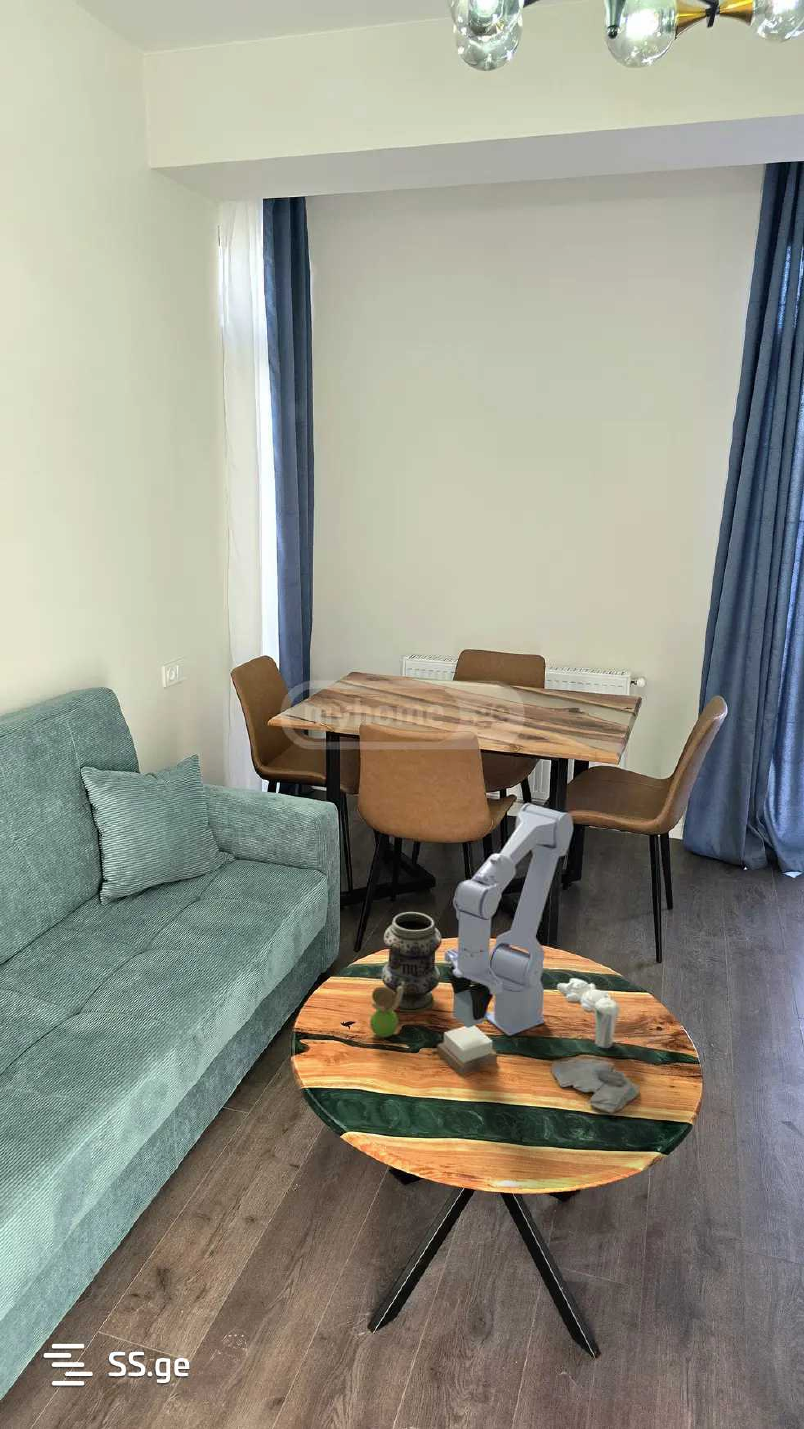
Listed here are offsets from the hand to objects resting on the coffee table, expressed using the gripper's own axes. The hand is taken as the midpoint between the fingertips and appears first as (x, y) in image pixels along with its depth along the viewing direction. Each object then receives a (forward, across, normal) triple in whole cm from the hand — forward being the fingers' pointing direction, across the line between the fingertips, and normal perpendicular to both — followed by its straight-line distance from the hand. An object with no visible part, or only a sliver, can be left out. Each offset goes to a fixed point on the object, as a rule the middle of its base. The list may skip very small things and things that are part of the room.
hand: (470, 1011), depth 176 cm
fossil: (+11, +18, +14) cm, 25 cm away
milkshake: (+10, +10, +25) cm, 29 cm away
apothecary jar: (+10, -22, +2) cm, 24 cm away
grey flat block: (+10, 0, 0) cm, 11 cm away
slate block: (+1, 0, 0) cm, 1 cm away
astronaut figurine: (+10, -4, +34) cm, 36 cm away
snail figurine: (+10, -14, -9) cm, 20 cm away
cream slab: (+8, 0, 0) cm, 8 cm away
